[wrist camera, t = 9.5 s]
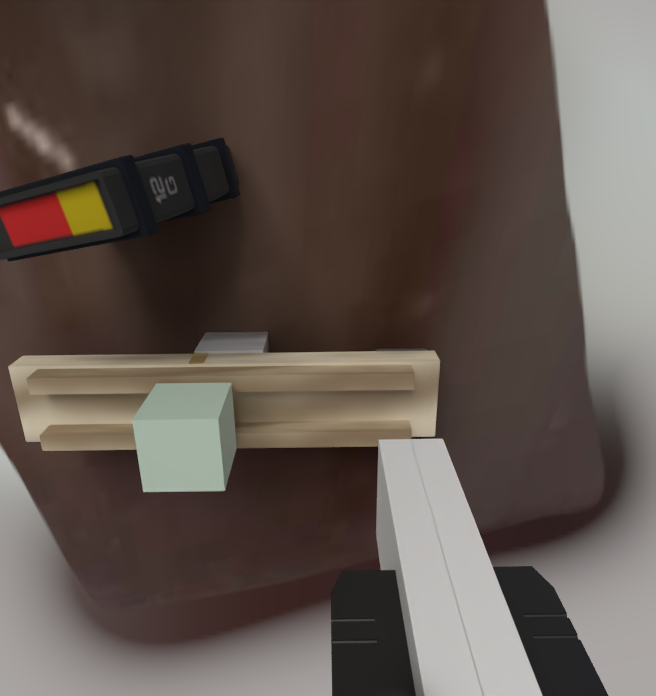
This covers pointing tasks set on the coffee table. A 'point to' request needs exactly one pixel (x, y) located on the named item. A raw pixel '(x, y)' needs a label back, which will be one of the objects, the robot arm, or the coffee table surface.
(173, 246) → the coffee table surface
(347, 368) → the beam
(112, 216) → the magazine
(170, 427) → the block
